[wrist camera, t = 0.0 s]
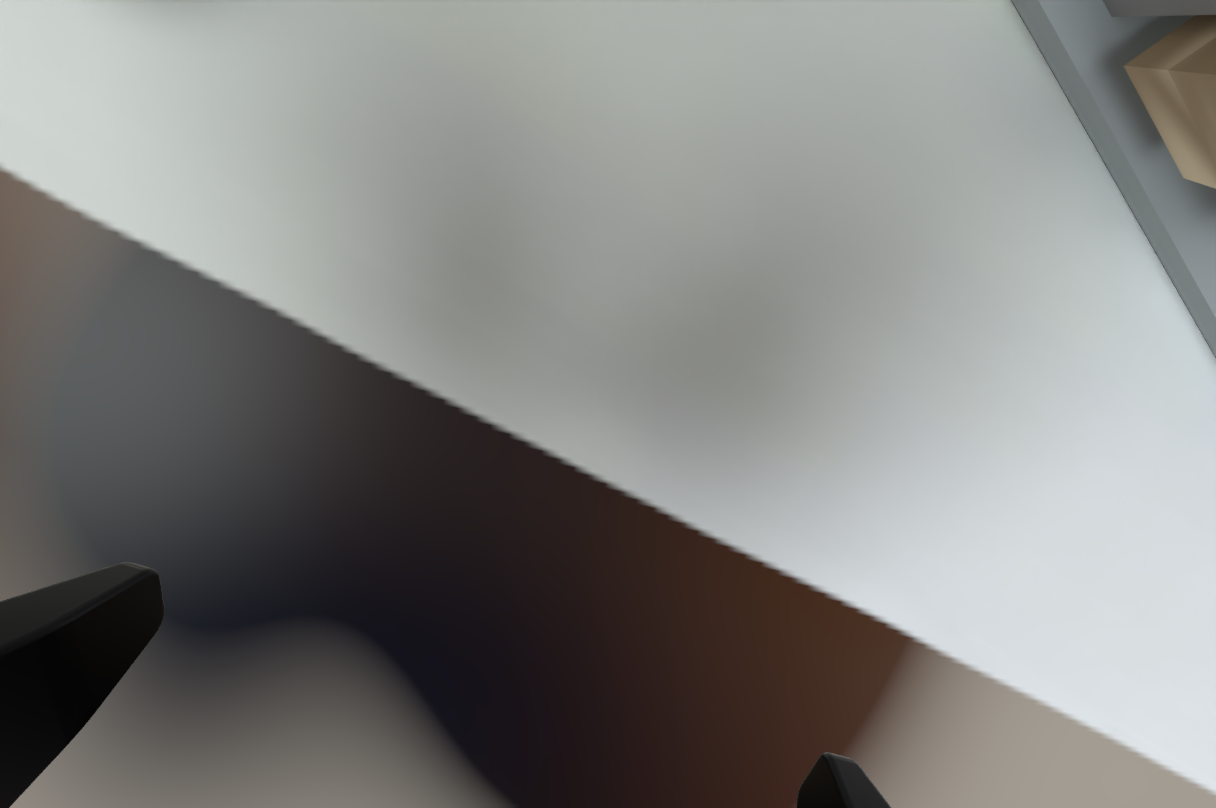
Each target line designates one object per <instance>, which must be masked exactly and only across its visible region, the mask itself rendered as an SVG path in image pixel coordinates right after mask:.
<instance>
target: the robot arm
mask: <svg viewBox="0 0 1216 808" xmlns="http://www.w3.org/2000/svg"><path fill="white" fill-rule="evenodd" d="M163 617H164V604H163V597H162V591H161V585H160V578H159V574H158V573H157V571H156V570H154V569H152V568H149V567H145V566H142V565H138V564H134V563H130V562H124V563H120V564H116V565H113V566H110V567H106V568H104V569H100V570H97V571H94V572H91V573H88V574H84V575H81V576H78V577H75V578H72V579H69V580H66V581H63V582H60V583H57V584H53V585H50V586H48V587H44V588H41V589H38V590H35V591H31V592H28V593H25V594H22V595H19V596H16V597H13V598H10V599H7V600H3V601H0V808H9V807H10V806H11V805H12V804H13V803H14V802H15V801H16V800H17V799H18V797H19V796H20V795H21V794H22V793H23V792H24V791H25V790H26V789H27V788H28V787H29V786H30V785H31V783H32V782H33V781H34V780H35V779H36V778H37V777H38V776H39V775H40V774H41V773H42V772H43V770H44V769H46V767H47V766H48V765H49V764H50V763H51V762H52V761H53V760H54V759H55V758H56V757H57V756H58V755H59V753H60V752H61V751H62V750H63V749H64V748H65V747H66V746H67V745H68V744H69V743H70V741H71V740H72V739H73V738H74V737H75V736H76V735H77V734H78V732H79V731H80V730H81V729H82V728H83V727H84V725H85V724H86V723H87V722H88V721H89V719H90V718H91V717H92V716H93V715H94V713H95V712H96V711H97V709H98V708H99V707H100V706H101V704H102V703H103V702H104V700H105V699H106V698H107V696H108V695H109V694H110V693H111V691H112V690H113V689H114V687H115V686H116V685H117V683H118V682H119V681H120V680H121V678H122V677H123V676H124V674H125V673H126V672H127V670H128V669H129V668H130V666H131V665H132V664H133V663H134V661H135V660H136V659H137V657H138V656H139V655H140V653H141V652H142V651H143V650H144V648H145V647H146V646H147V644H148V643H149V642H150V640H151V639H152V638H153V637H154V635H155V633H156V632H157V631H158V629H159V627H160V626H161V623H162V621H163ZM797 808H891V807H890V805H889V804H888V803H887V801H886V800H885V799H884V797H883V796H882V795H881V794H880V792H879V791H878V789H877V788H876V787H875V786H874V784H873V783H872V782H871V780H870V779H869V777H868V776H867V775H866V773H865V772H864V771H863V770H862V768H861V767H860V766H859V765H858V764H857V763H856V762H855V761H854V760H853V759H850V758H847V757H843V756H840V755H836V754H832V753H827V752H826V753H824V754H822V755H821V756H820V757H819V759H818V760H817V762H816V763H815V765H814V766H813V768H812V769H811V771H810V772H809V774H808V775H807V777H806V778H805V780H804V781H803V783H802V784H801V787H800V789H799V793H798V798H797Z"/></svg>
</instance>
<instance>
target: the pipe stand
mask: <svg viewBox="0 0 1216 808" xmlns="http://www.w3.org/2000/svg"><path fill="white" fill-rule="evenodd" d="M1012 2H1013V4H1014V5H1015V7H1016V9H1017V11H1018V12H1019V14H1020V16H1021V18H1022V19H1023V21H1024V23H1025V25H1026V26H1027V28H1028V30H1029V32H1030V33H1031V35H1032V37H1033V39H1034V40H1035V42H1036V44H1037V46H1038V47H1039V49H1040V51H1041V53H1042V54H1043V56H1044V58H1045V60H1046V61H1047V63H1048V65H1049V67H1050V68H1051V70H1052V72H1053V74H1054V75H1055V77H1056V79H1057V81H1058V82H1059V84H1060V86H1061V88H1062V89H1063V91H1064V93H1065V95H1066V96H1067V98H1068V100H1069V102H1070V103H1071V105H1072V107H1073V109H1074V110H1075V112H1076V114H1077V116H1078V117H1079V119H1080V121H1081V123H1082V124H1083V126H1084V128H1085V130H1086V131H1087V133H1088V135H1089V137H1090V138H1091V140H1092V142H1093V144H1094V145H1095V147H1096V149H1097V151H1098V152H1099V154H1100V156H1101V158H1102V159H1103V161H1104V163H1105V165H1106V166H1107V168H1108V170H1109V172H1110V173H1111V175H1112V177H1113V179H1114V180H1115V182H1116V184H1117V186H1118V187H1119V189H1120V191H1121V193H1122V194H1123V196H1124V198H1125V200H1126V201H1127V203H1128V205H1129V207H1130V208H1131V210H1132V212H1133V214H1134V215H1135V217H1136V219H1137V221H1138V222H1139V224H1140V226H1141V228H1142V229H1143V231H1144V233H1145V235H1146V236H1147V238H1148V240H1149V242H1150V243H1151V245H1152V247H1153V249H1154V250H1155V252H1156V254H1157V256H1158V257H1159V259H1160V261H1161V263H1162V264H1163V266H1164V268H1165V270H1166V271H1167V273H1168V275H1169V277H1170V278H1171V280H1172V282H1173V284H1174V285H1175V287H1176V289H1177V291H1178V292H1179V294H1180V296H1181V298H1182V299H1183V301H1184V303H1185V305H1186V306H1187V308H1188V310H1189V312H1190V313H1191V315H1192V317H1193V319H1194V320H1195V322H1196V324H1197V326H1198V327H1199V329H1200V331H1201V333H1202V334H1203V336H1204V338H1205V340H1206V341H1207V343H1208V345H1209V347H1210V348H1211V350H1212V352H1213V354H1214V355H1215V357H1216V189H1215V188H1212V187H1209V186H1206V185H1203V184H1200V183H1197V182H1194V181H1191V180H1188V179H1184V178H1183V176H1182V174H1181V173H1180V171H1179V169H1178V167H1177V165H1176V163H1175V161H1174V159H1173V158H1172V156H1171V154H1170V152H1169V150H1168V148H1167V146H1166V145H1165V143H1164V141H1163V139H1162V137H1161V135H1160V133H1159V131H1158V130H1157V128H1156V126H1155V124H1154V122H1153V120H1152V118H1151V116H1150V115H1149V113H1148V111H1147V109H1146V107H1145V105H1144V103H1143V101H1142V100H1141V98H1140V96H1139V94H1138V92H1137V90H1136V88H1135V86H1134V85H1133V83H1132V81H1131V79H1130V77H1129V75H1128V73H1127V71H1126V70H1125V68H1124V65H1125V64H1127V63H1128V62H1130V61H1131V60H1132V59H1134V58H1135V57H1137V56H1138V55H1139V54H1141V53H1142V52H1144V51H1145V50H1147V49H1148V48H1149V47H1151V46H1152V45H1154V44H1155V43H1157V42H1158V41H1159V40H1161V39H1162V38H1164V37H1165V36H1166V35H1168V34H1169V33H1171V32H1172V31H1174V30H1175V29H1176V28H1178V27H1179V26H1181V25H1182V24H1183V23H1185V22H1186V21H1188V20H1189V19H1191V18H1192V17H1193V16H1195V15H1216V0H1012Z"/></svg>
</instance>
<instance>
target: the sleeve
mask: <svg viewBox="0 0 1216 808" xmlns="http://www.w3.org/2000/svg"><path fill="white" fill-rule="evenodd" d="M1124 68H1125V70H1126V71H1127V73H1128V75H1129V77H1130V79H1131V81H1132V83H1133V85H1134V86H1135V88H1136V90H1137V92H1138V94H1139V96H1140V98H1141V100H1142V101H1143V103H1144V105H1145V107H1146V109H1147V111H1148V113H1149V115H1150V116H1151V118H1152V120H1153V122H1154V124H1155V126H1156V128H1157V130H1158V131H1159V133H1160V135H1161V137H1162V139H1163V141H1164V143H1165V145H1166V146H1167V148H1168V150H1169V152H1170V154H1171V156H1172V158H1173V159H1174V161H1175V163H1176V165H1177V167H1178V169H1179V171H1180V173H1181V174H1182V176H1183V178H1184V179H1188V180H1191V181H1194V182H1197V183H1200V184H1203V185H1206V186H1209V187H1212V188H1215V189H1216V15H1195V16H1193V17H1192V18H1191V19H1189V20H1188V21H1186V22H1185V23H1183V24H1182V25H1181V26H1179V27H1178V28H1176V29H1175V30H1174V31H1172V32H1171V33H1169V34H1168V35H1166V36H1165V37H1164V38H1162V39H1161V40H1159V41H1158V42H1157V43H1155V44H1154V45H1152V46H1151V47H1149V48H1148V49H1147V50H1145V51H1144V52H1142V53H1141V54H1139V55H1138V56H1137V57H1135V58H1134V59H1132V60H1131V61H1130V62H1128V63H1127V64H1125V65H1124Z"/></svg>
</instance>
